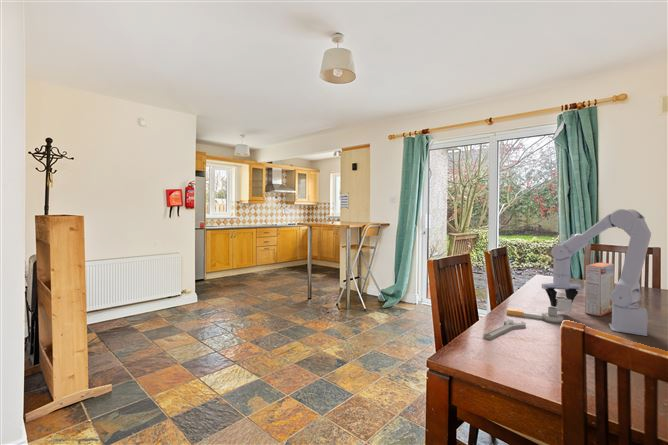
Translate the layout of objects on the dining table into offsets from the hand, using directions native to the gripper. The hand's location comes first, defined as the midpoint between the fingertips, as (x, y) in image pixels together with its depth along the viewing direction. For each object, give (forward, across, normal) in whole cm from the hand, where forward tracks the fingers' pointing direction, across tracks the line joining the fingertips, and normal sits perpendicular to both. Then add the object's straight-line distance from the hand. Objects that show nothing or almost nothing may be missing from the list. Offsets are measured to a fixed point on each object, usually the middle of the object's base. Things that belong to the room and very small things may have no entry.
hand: (560, 306), depth 137 cm
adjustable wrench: (+4, +31, +23) cm, 39 cm away
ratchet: (+4, +13, +6) cm, 15 cm away
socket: (+1, 0, 0) cm, 1 cm away
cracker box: (+4, -18, -6) cm, 19 cm away
